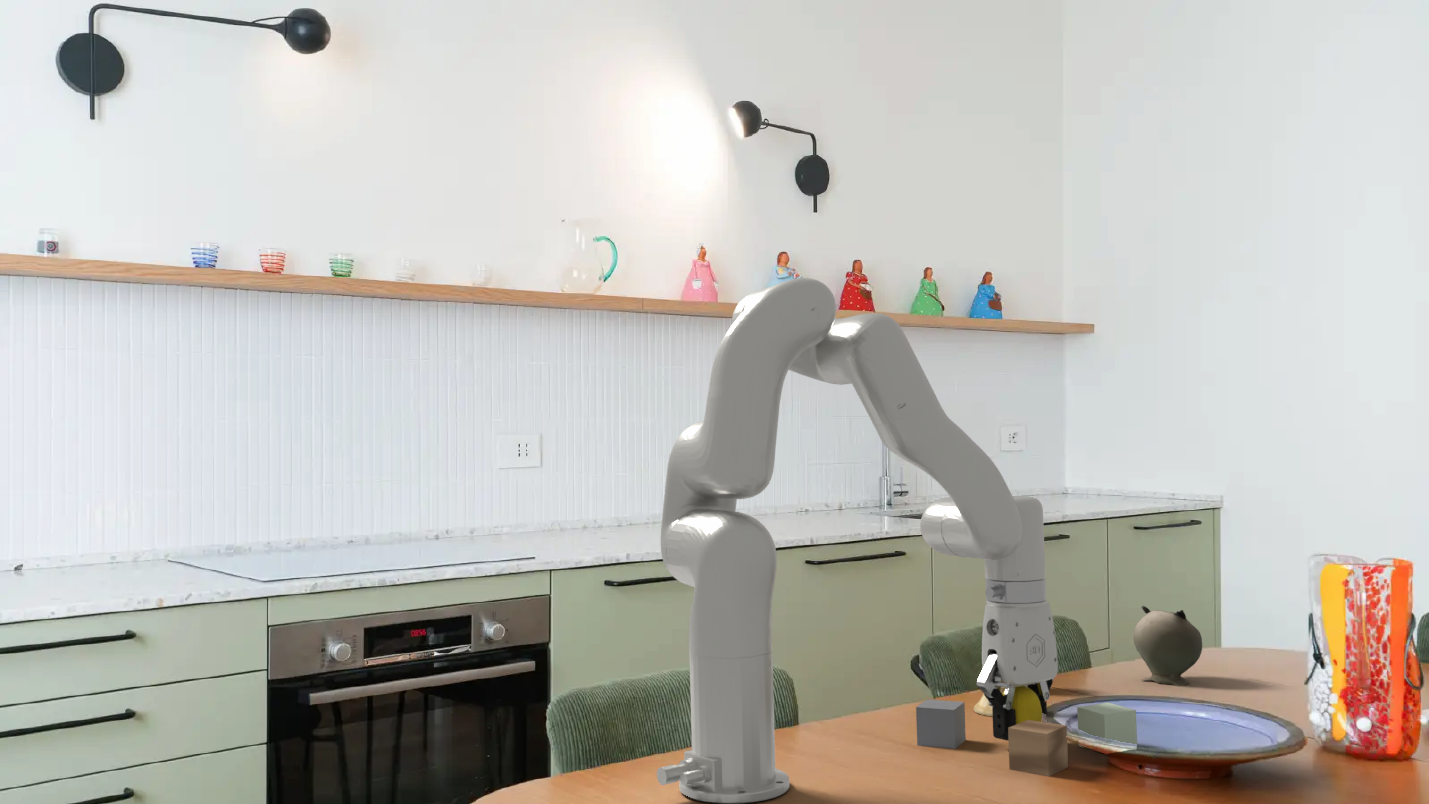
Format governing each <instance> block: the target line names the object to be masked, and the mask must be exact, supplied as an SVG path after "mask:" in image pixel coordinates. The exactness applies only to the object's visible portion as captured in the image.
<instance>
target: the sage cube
mask: <svg viewBox="0 0 1429 804" xmlns="http://www.w3.org/2000/svg"><path fill="white" fill-rule="evenodd" d="M1076 708H1077V709H1076V711H1077V712H1076V713H1077V730H1078V729H1079V730H1082V731H1084V732H1086V733H1088V734H1090V735H1093V736H1098V737H1102V738H1106V739H1112V740H1117V741H1120V742H1126V743H1132V744H1137V745H1138V730H1137V729H1138V728H1137V726H1138V725H1137V710H1136V709H1133V708H1130V707H1126V706H1122V705H1118V704H1114V703H1112V702H1111V703H1110V702H1103V703H1096V704H1089V705H1088V704H1087V705H1081V706H1076ZM1078 746H1079V747H1080V748H1081V747H1082V746H1080V745H1079V744H1078ZM1082 748H1083V747H1082Z"/></svg>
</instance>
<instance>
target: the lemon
mask: <svg viewBox="0 0 1429 804" xmlns="http://www.w3.org/2000/svg"><path fill="white" fill-rule="evenodd" d="M1004 694H1005V691H1004V692H1003V696H1004ZM1011 708H1012V709H1015V712H1016V724H1019V723H1021V722H1024V721H1027V720H1032V721H1039V722H1041V719H1042V708H1041V704H1040V701H1039V698H1038V696H1037V695H1036V693H1035V692H1034V691H1032V690H1031V689H1030V688H1028V687H1026V686H1020V687H1015V691H1014V696H1013V702H1012V707H1011Z"/></svg>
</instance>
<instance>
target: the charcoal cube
mask: <svg viewBox="0 0 1429 804" xmlns="http://www.w3.org/2000/svg"><path fill="white" fill-rule="evenodd" d="M915 713H916V715H915V716H916V745H917V746H918V747H919V746H920V747H928V748H930V747H931V748H941V749H950V750H952V749H953V750H956V749H957V748H958V747H960V746H961V745H962V744H963V743H964V742H966V740H967V739H966V738H967V737H966V735H967V734H966V708H965V701H958V700H957V701H956V700H955V701H954V700H944V699H943V700H940V699H930V698H928V699H927V698H926V700H924V701H922V703H920V704H919V705H917V706H915Z"/></svg>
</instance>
